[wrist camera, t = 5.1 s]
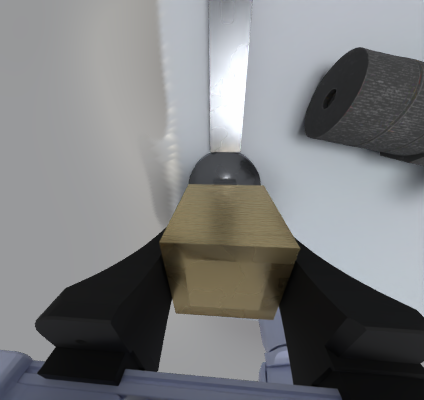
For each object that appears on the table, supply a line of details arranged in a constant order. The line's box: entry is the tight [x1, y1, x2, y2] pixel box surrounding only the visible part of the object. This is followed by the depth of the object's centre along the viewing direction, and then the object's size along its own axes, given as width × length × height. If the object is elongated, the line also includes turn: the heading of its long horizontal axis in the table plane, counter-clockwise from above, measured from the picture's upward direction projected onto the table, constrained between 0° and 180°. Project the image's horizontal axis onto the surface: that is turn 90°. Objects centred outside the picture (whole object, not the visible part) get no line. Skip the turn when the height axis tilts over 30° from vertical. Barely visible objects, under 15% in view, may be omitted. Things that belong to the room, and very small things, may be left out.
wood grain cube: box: [159, 184, 300, 320], centre depth 10 cm, size 6×6×6 cm
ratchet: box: [189, 0, 261, 186], centre depth 13 cm, size 22×8×5 cm, turn 0°
